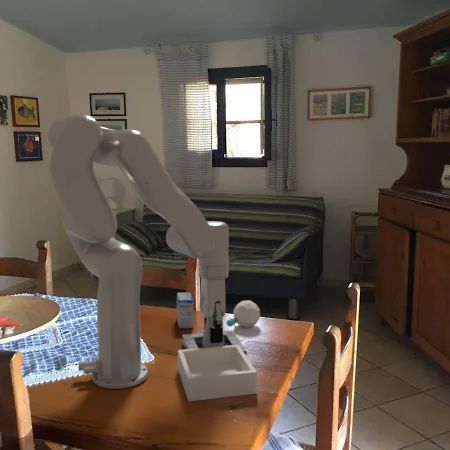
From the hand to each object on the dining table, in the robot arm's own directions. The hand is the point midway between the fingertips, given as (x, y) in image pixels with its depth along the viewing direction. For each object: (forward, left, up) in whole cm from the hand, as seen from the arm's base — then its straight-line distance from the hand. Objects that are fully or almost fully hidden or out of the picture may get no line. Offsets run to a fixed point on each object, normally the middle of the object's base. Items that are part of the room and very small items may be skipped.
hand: (213, 336), depth 126 cm
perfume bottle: (+12, +15, -4) cm, 20 cm away
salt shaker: (0, 0, -4) cm, 4 cm away
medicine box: (-4, +22, -4) cm, 23 cm away
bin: (-3, -16, -4) cm, 17 cm away
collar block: (0, 0, -4) cm, 4 cm away
